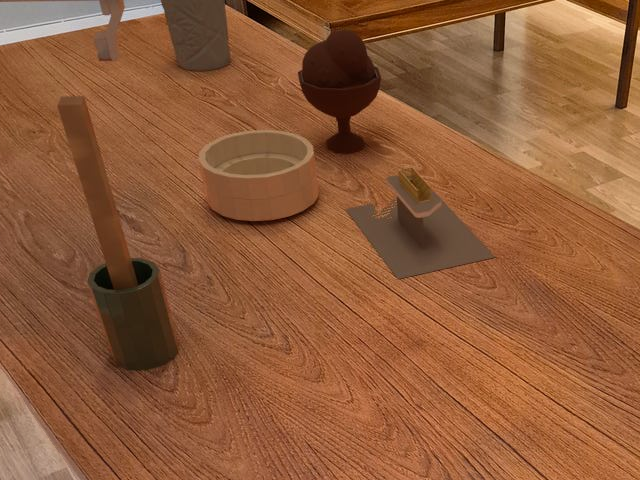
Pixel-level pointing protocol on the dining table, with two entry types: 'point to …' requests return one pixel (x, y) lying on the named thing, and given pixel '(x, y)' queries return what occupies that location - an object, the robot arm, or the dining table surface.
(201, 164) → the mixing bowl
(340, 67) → the ice cream bowl
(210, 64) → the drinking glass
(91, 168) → the brown wooden stick
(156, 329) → the crock
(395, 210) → the platform
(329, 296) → the dining table surface
